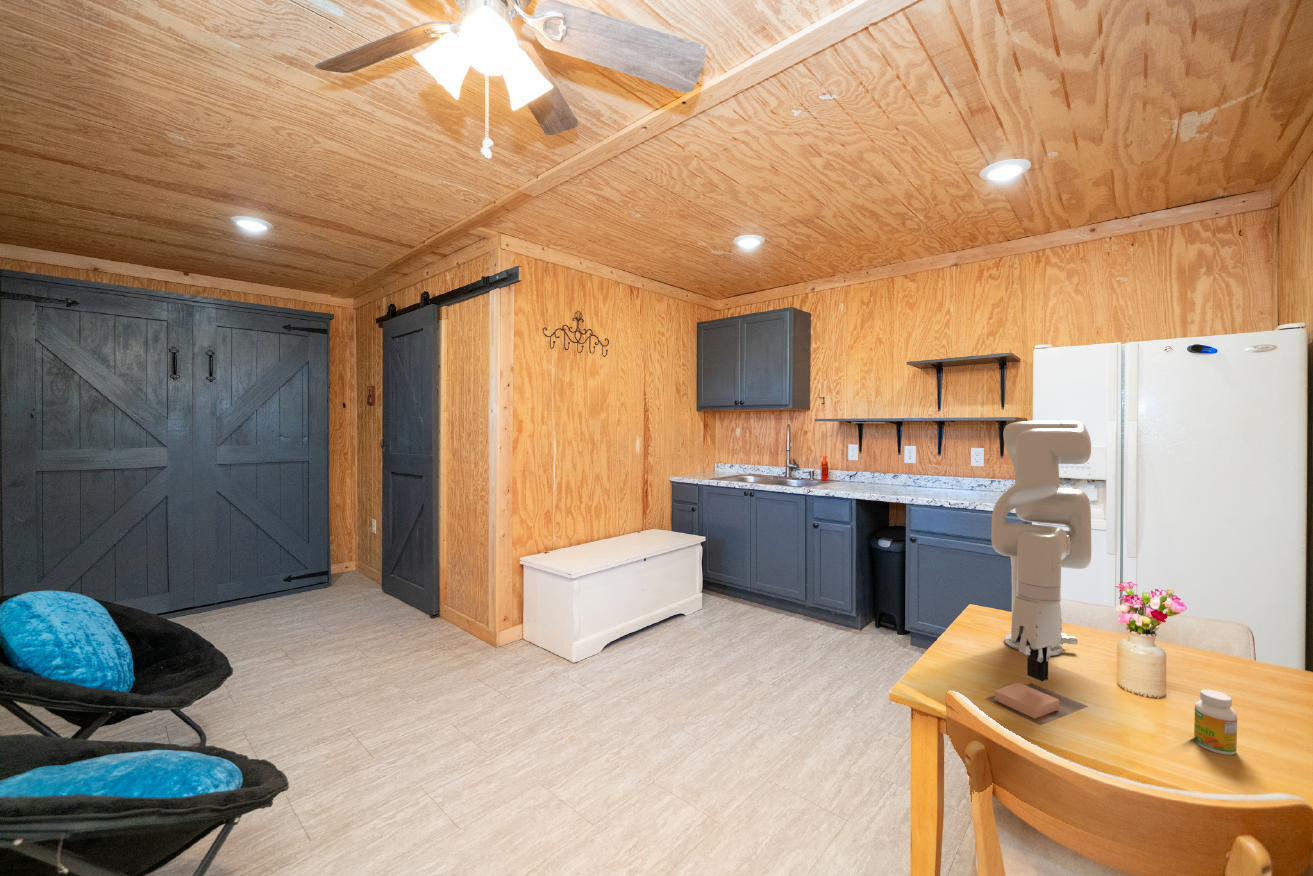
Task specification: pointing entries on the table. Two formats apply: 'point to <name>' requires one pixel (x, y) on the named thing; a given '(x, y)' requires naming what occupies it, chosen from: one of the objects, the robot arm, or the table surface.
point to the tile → (1026, 700)
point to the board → (1064, 708)
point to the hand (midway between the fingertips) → (1037, 677)
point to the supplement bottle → (1215, 723)
